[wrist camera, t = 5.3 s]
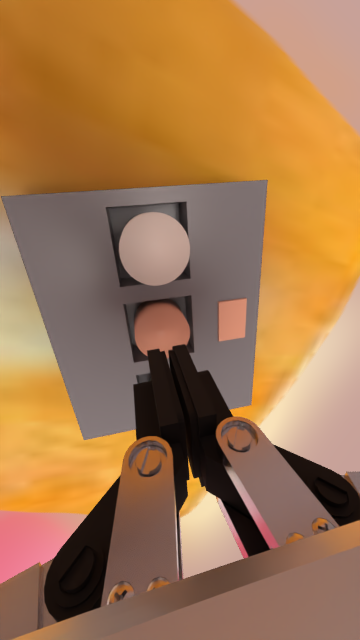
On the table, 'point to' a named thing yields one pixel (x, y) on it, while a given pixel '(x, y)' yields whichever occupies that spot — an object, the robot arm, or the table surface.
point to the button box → (142, 288)
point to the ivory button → (154, 248)
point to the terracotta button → (160, 326)
